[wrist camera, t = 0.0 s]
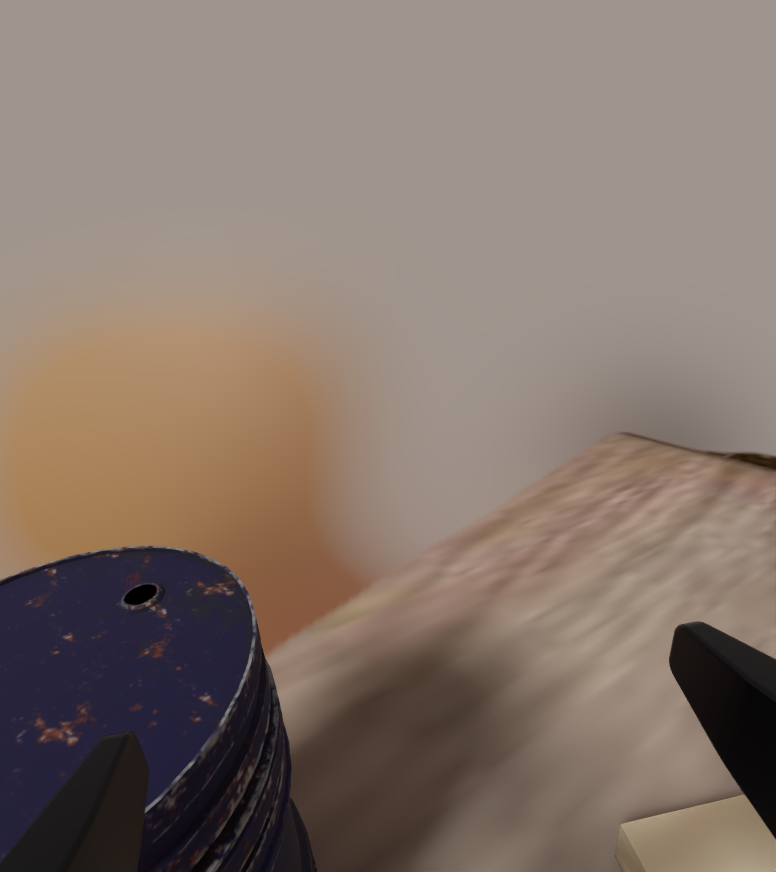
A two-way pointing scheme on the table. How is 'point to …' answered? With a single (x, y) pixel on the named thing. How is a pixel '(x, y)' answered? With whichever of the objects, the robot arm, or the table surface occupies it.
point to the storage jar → (149, 704)
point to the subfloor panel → (699, 840)
